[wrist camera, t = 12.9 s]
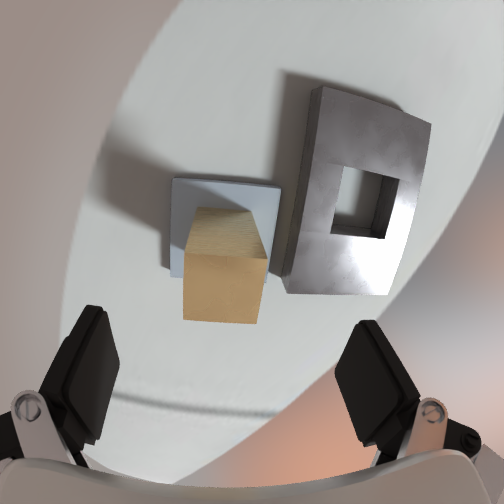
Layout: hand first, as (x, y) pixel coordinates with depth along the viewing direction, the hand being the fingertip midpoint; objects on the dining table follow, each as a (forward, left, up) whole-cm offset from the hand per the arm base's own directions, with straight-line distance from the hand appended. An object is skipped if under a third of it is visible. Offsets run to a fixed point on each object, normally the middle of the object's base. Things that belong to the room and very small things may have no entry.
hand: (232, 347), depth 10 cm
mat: (+1, 0, -14) cm, 14 cm away
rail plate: (-3, +10, -14) cm, 17 cm away
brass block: (+1, 0, -13) cm, 13 cm away
